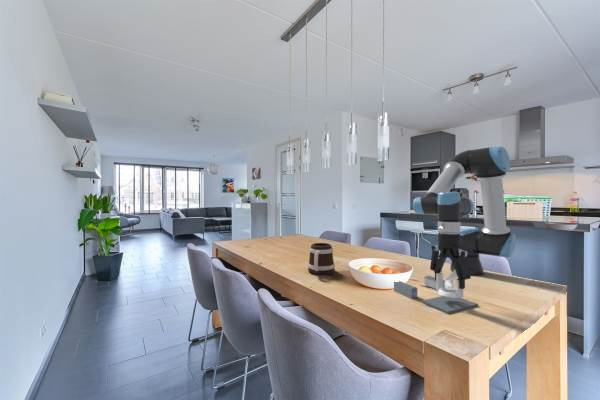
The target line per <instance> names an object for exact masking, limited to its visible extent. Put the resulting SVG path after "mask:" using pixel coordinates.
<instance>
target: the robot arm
mask: <svg viewBox="0 0 600 400" xmlns="http://www.w3.org/2000/svg"><path fill="white" fill-rule="evenodd" d="M510 169H511V159H510V155H509V153H508V151H507V149H506V148H505V147H504V146H490V147H484V148H483V147H482V148H476V149H469V150H463V151H461V152H459V153H458V154H456V155H454V156H453V157H452V158H450V159H449V160H448V161H447V162H446V163H445V164H444V165H443V171H442V172H441V174H439V176H438V177H437V179H436V180H435V181H434V183H433V184H432V185H431V187H430V188H429V189H428V190H427V192H426V193H425V194H424V196H419V197H415V198H414V199H413V201H412V209H413V211H414V213H416V214H417V215H424V216H425V215H433V216H437V232H438V233H437V242H438V244H437V245H432V246H431V259H430V266H429V267H430V268H429V269H430V270H431V271H433V272H434V277H435V281H436V289H435V290H436V291H439V289H440V288H442V287H443V280H444V273H443V271H442V270H443V267H444V265H445V263H446V260H447V258H448V259H450V261H451V262H450V268H449V270H450V271H451V272H453V271H454V270H455V271H456V274H457V278H456V279H455V289H456V297H457V298H463V297H464V289H465V288H466V280H469V279H471V278H472V277H471V276H481V275H484V267H483V265H482V261H481V259H480V255H484V256H493V257H498V258H500V257H502V258H510V257H511V256H512V255H513V254H514V251H515V248H516V243H517V236H516V234H515V233H512V232H511V229H510V227H508V226H507V222H506V211H505V210H506V209H505V207H506V206H505V195H504V183H503V182H504V181H503V178H505V176H506V175H507V172H509V171H510ZM467 174H468V175H470V174H475V175H476V176H475V178H476V179H478V180H479V181H480V191H481V199H482V200H481V201H482V211H483V213H482V214H483V222H484V227H482V228H481V230H480V228H478V227H470V228H469V227H468V228H462V227H461V222H462V221H461V216H463V217H465V216H468V215H470V214H471V213H473V211H474V209H475V205H474V202H473V200H472V199H471V198H469V197H466V196H461V193H460V192H459V191H451V190H452V188H453V187H454V186H455V184H456V183H457V182H458V180H459V179H460V178H462V177H464V175H467Z"/></svg>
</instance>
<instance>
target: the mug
mask: <svg viewBox="0 0 600 400" xmlns="http://www.w3.org/2000/svg"><path fill="white" fill-rule="evenodd" d="M333 252H334V248H333V247H332V244H330V243H327V242H326V243H325V242H317V243H316V242H315V243H312V244H311V245H310V248H309V259H308V264H307V269H308V270H307V271H308V272H309V273H310V272H311V273H310V274H312V273H314V275H317V274H321V275H320V276H325V275H324V274H327V275H330V274H333V273H334V272H335V270H336V269H335V267H336V264H335V262H334V255H333Z"/></svg>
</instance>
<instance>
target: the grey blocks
mask: <svg viewBox="0 0 600 400" xmlns="http://www.w3.org/2000/svg"><path fill="white" fill-rule="evenodd" d="M398 281H399V282H395V281H393V292H396V293H397V294H400V295H402V296H405V297H406V298H408V299H412V300H414V299H417V298H418V287H416V286H415V285H412V284H408V283H406V282H403V281H400V280H398ZM445 281H446V279H445V280H444V279H443V287H445V286H444V282H445ZM424 286H425V287H429V288H431V289H433V290H436V281H435V276H431V275H426V276H424ZM445 292H448V291H445Z"/></svg>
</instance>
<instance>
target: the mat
mask: <svg viewBox="0 0 600 400" xmlns="http://www.w3.org/2000/svg"><path fill="white" fill-rule="evenodd" d="M421 304H424V305H426V306H429V307H431V308H434V309H435V310H437V311H441V312H442V313H445V314H447V315H449V314H453V313H456V312H457V313H458V312H462V311H464V310H468V309H472V308H475V307H479V303H477V302H473V301H471V300H468V299H465V298H463V297H460V298H449V297H445V296H442V295H440V296H437V297H432V298H427V299H423V300H421Z"/></svg>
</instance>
